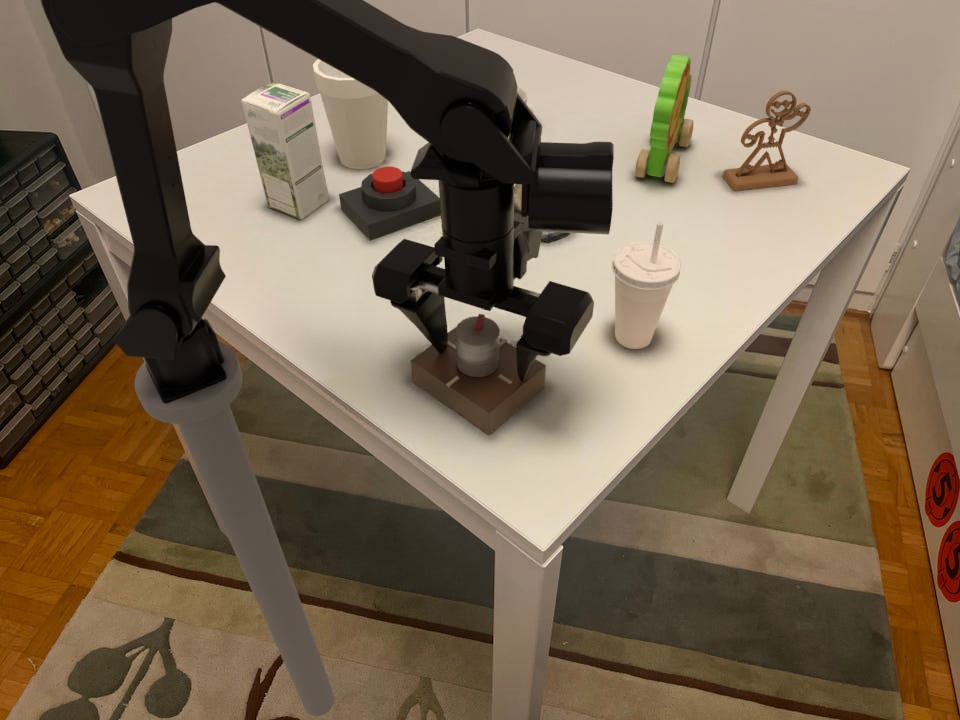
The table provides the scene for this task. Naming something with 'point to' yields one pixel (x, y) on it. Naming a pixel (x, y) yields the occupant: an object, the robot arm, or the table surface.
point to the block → (389, 206)
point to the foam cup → (353, 117)
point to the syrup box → (286, 148)
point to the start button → (387, 179)
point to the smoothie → (642, 288)
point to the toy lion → (668, 122)
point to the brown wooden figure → (770, 173)
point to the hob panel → (477, 384)
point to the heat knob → (477, 346)
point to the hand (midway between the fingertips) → (482, 363)
